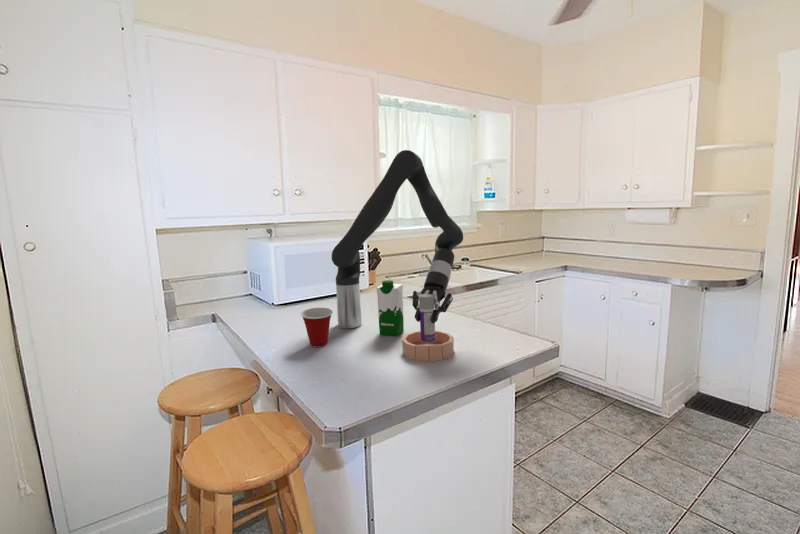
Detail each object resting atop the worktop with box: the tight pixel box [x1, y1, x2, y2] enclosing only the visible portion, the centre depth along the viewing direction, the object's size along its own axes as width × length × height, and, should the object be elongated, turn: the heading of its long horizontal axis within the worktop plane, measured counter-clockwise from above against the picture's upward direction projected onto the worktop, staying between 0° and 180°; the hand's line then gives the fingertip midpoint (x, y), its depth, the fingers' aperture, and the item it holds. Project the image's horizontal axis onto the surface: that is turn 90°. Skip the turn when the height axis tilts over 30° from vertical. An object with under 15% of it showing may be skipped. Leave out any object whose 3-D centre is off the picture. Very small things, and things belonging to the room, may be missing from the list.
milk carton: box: [376, 279, 405, 337], centre depth 149 cm, size 9×9×20 cm
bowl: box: [401, 330, 455, 362], centre depth 130 cm, size 16×16×4 cm
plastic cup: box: [300, 307, 333, 348], centre depth 140 cm, size 11×11×12 cm
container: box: [419, 294, 436, 343], centre depth 128 cm, size 5×5×15 cm
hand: (425, 321), depth 127 cm, fingers closed on container, 4 cm apart
